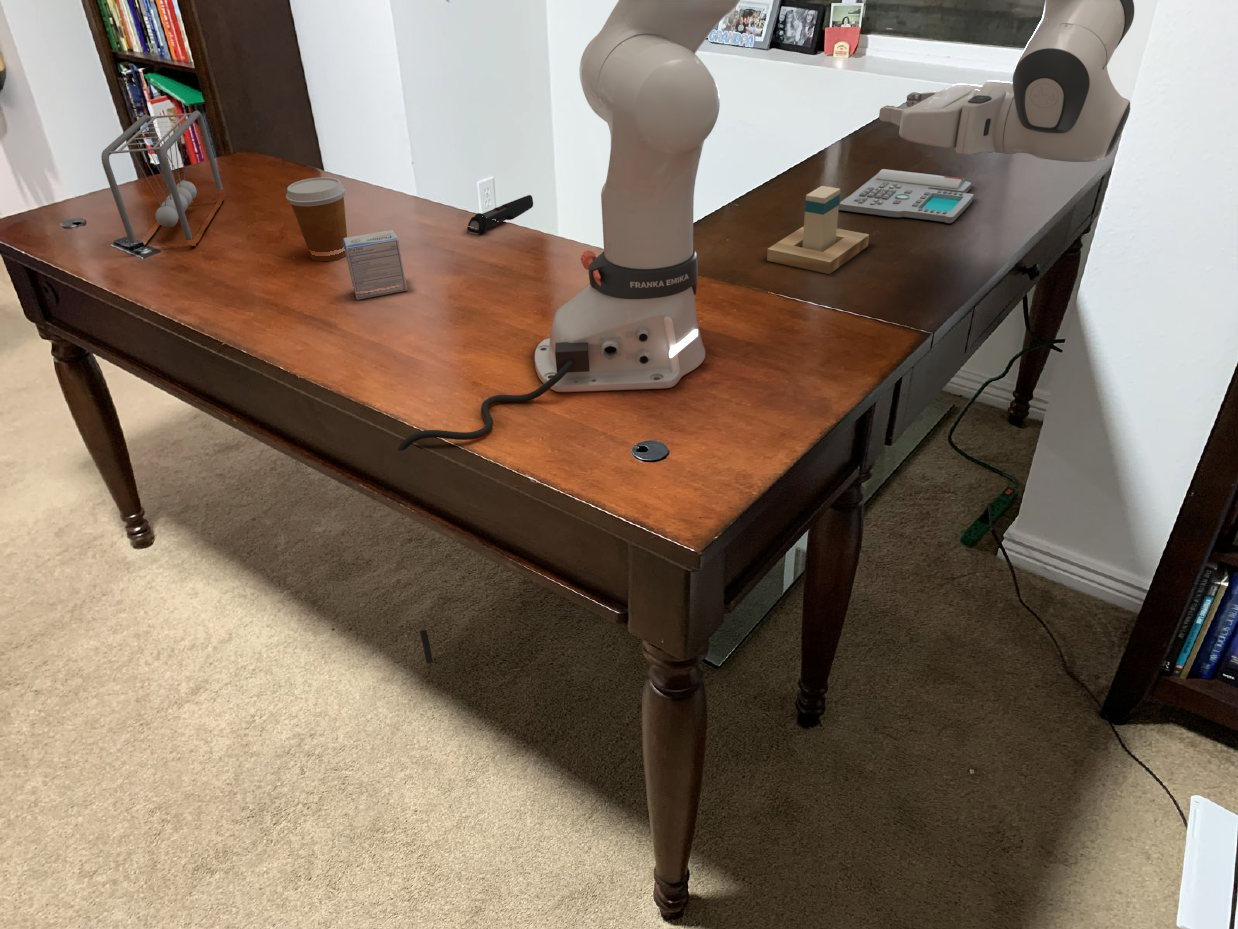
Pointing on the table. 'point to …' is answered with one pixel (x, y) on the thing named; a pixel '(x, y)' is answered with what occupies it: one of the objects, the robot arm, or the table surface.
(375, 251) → the medicine box
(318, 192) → the disposable coffee cup
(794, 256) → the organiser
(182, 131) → the newton's cradle
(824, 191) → the box
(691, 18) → the robot arm
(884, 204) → the office telephone
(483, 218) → the electric trimmer
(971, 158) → the table surface
